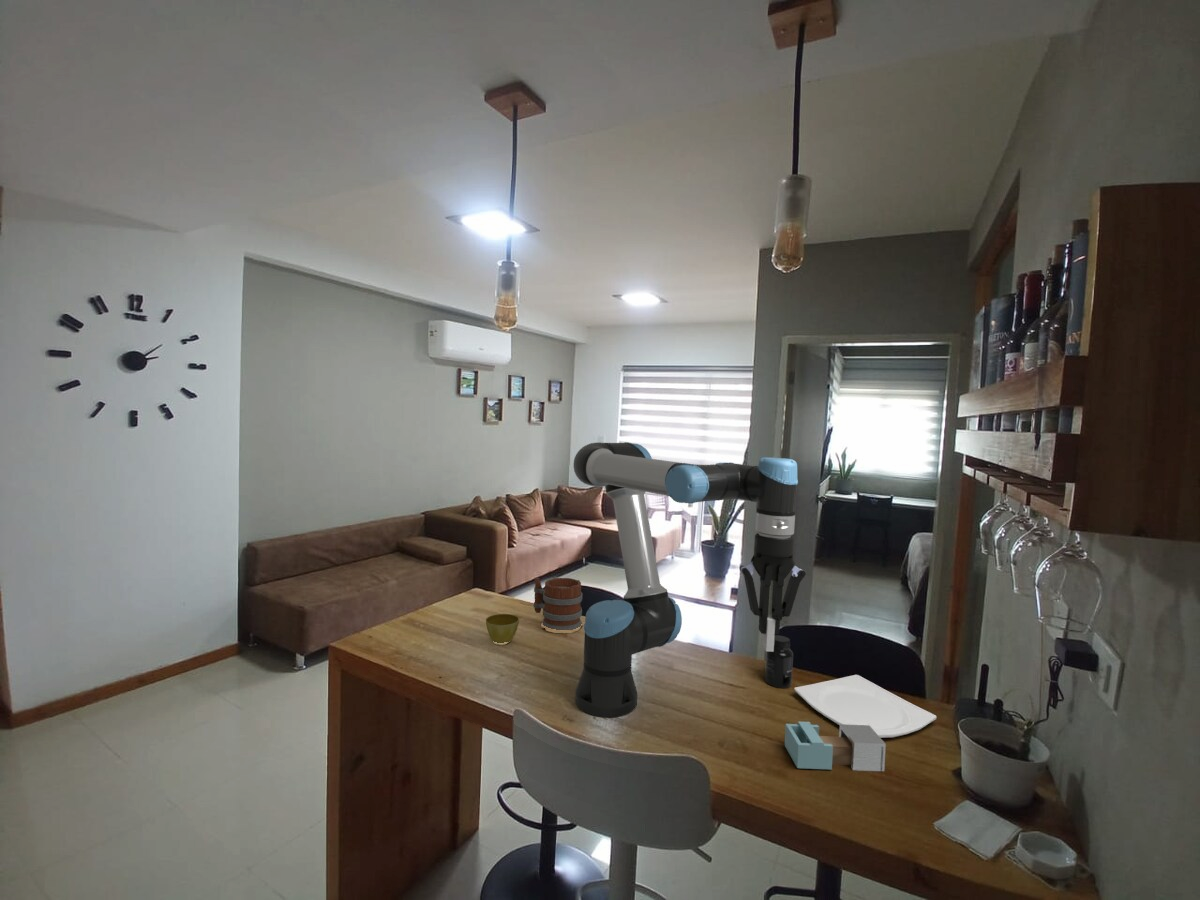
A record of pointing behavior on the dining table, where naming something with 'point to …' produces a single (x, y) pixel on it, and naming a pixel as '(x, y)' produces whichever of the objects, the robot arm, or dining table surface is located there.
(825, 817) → the dining table surface
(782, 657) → the supplement bottle
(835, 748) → the batten
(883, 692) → the plate
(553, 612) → the mug
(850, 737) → the end cap
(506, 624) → the flower pot
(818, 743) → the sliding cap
